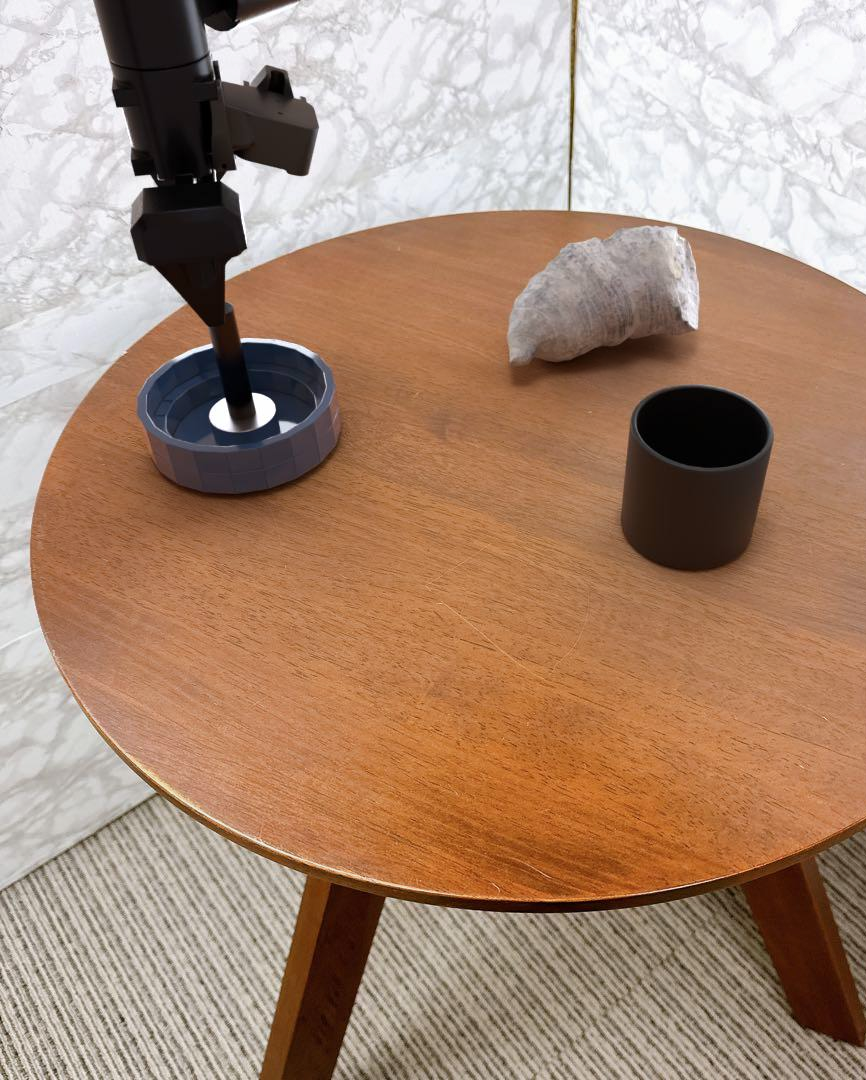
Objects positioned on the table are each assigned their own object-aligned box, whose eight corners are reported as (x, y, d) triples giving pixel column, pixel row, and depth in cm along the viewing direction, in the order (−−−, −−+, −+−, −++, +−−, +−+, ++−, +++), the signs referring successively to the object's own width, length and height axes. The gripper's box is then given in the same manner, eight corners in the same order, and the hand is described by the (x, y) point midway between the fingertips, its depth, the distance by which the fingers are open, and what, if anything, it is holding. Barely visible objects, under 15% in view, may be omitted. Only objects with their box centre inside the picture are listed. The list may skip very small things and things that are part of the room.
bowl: (151, 513, 73) (134, 465, 70) (152, 397, 83) (138, 350, 80) (352, 482, 76) (345, 435, 73) (330, 374, 86) (323, 328, 83)
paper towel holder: (215, 457, 77) (182, 331, 69) (213, 418, 80) (181, 294, 73) (282, 447, 78) (257, 322, 70) (277, 409, 81) (253, 286, 74)
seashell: (502, 387, 85) (501, 279, 78) (523, 296, 95) (524, 194, 89) (696, 402, 84) (712, 294, 77) (695, 308, 94) (710, 206, 88)
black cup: (804, 522, 74) (832, 422, 67) (680, 592, 68) (697, 490, 62) (715, 454, 79) (732, 356, 73) (593, 514, 74) (601, 413, 68)
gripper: (314, 102, 55) (347, 349, 66) (286, -4, 68) (317, 216, 79) (96, 120, 53) (168, 372, 63) (110, 6, 66) (167, 232, 76)
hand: (214, 290), depth 71 cm, fingers open, 9 cm apart
